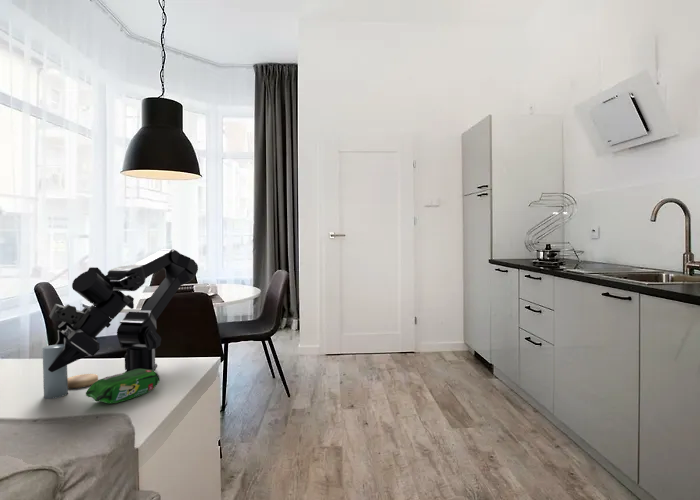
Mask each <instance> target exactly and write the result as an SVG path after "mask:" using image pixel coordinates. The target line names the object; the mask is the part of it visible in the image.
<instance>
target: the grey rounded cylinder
mask: <svg viewBox="0 0 700 500" xmlns="http://www.w3.org/2000/svg"><path fill="white" fill-rule="evenodd" d="M63 348H64V344H57V345H55V344H52V345H51V344H50V345H46V346H43V347H42V348H41V349H42V350H41V351H42V374H43V375H42V377H43V398H44V399H46V400H50V399H57V398H58V399H59V398H61V397H64V396H67V395H68V394H69V388H68V378H69V377H68V365H66V366H64V367H62V368H60V369H58V370H56V371H54V372H50V371H49V370H48V368H49V367H50V365H51V364H52V362H53V361H54V360H55V358H56V357H57V356H58V355H59V353H60V352H61V351H62V349H63Z"/></svg>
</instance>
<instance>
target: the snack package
mask: <svg viewBox="0 0 700 500" xmlns="http://www.w3.org/2000/svg"><path fill="white" fill-rule="evenodd" d="M160 379H161V377H160V376H159V373H158V372H156V371H155V370H148V369H134V370H131V371H128V372H121V373H117V374H114V375H109V376H105V377H103V378H100V379H98V381H96V382H95V383H94V384H92V385H91V386H88V387H89V388H88V389H87V390H86V392H85V396H86V397H87V398H92V399H93V400H94V401H95V402H101V403H105V404H109V405H110V404H112V405H113V404H118V403H121V402H124V401H128V400H131V399H134V398H137V397H140V396H143V395H146V394H148V393H149V392H152V391H153V390H154V389H155V388H156V387H157V385H158V384H159V383H160V381H161V380H160Z"/></svg>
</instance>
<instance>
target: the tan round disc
mask: <svg viewBox="0 0 700 500" xmlns="http://www.w3.org/2000/svg"><path fill="white" fill-rule="evenodd" d="M98 380H99V376H98V374H97V373H84V374H83V373H82V374H77V375H73V376H70V377H68V389H72V390H73V388H75V389H81V387H83V388H87V387H90V385H92V384H94V383H95V382H96V381H98Z"/></svg>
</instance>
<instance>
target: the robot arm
mask: <svg viewBox="0 0 700 500" xmlns="http://www.w3.org/2000/svg"><path fill="white" fill-rule="evenodd" d="M198 266H199V265H198V263H197V262H196V261H195V260H194V259H192V258H191V257H189V256H187V255H185V254H181V253H180V252H179V251H177V250H176V249H173V248H172V249H171V248H167V249H165V248H164V249H160V250H158V251H157V252H156V253H154V254H151V255H149V256H148V257H146V258H144V259H142V260H139V261H137V262H135V263H133V264H130V265H120V266H117V267H113V268H111V269H109V270H108V271H107V274H104V273H103V272H102V270H101V269H100V268H99V267H93V266H92V267H91V266H90V267H89V268H88V270H87V271H84V272H82V273H80V274H79V275H77V277H75V278H74V279H73V281H72V284H71V288H72V289H73V291H75V292H76V293H78V295H80V296H81V297H82V298H84V300H86V301H88V302H89V303H90V304H92V305H90V307H88V306H87V307H85V306H84V307H83V309H82V310H79V309H77V307H76V306H74V305H70V304H66V305H62V304H58V303H54V306H53V307H52V309H51V311H50V313H49V315H48V317H49V318H50V320H53V321H55V322H61V323H60V324H58V326H57V327H58V328H59V329H60V330H59V329H57V341H56V343H55V344H54V345H57V344H64V348H63V349H62V351H61V352H60V353H59V355H58V356H57V357H56V358H55V360H54V361H53V362H52V364H51V365H50V367H49V368H48V370H49V371H50V372H54V371H56V370H58V369H60V368H62V367H64V366H66V365H67V366H68V365H70V364H72V363H74V362H77V361H79V360H81V359H83V358H85V357H89V356H92V357H94V356H95V355H96V353H98V352H99V351H100V342H99V341H98V337H97V336H98V335H99V334H100V333H101V332H102V331H103V330H105V328H110V326H111V325H112V324H111V322H112V321H113V320H114V319H115V318H116V317H117V315H119V314H120V313H121V312H122V310H124V309H125V308H126V307H128V308H129V309H131V310H134V308H135V307H134V306H135V304H134V301H135V298H134V297H133V296H131V295H130V294H127V295H125V294H124V293H123V292H136V291H137V290H138V289H140V288H141V287H142V286H143V285H144V284H145V283H146V279H147V278H149V277H150V276H151V275H153V274H155V273H157V272H159V271H160V270H162V269H163V270H164V272H165V273H164V274H165V278H163V280H162V281H161V283H160V284H159V285H158V286H157V288H156V289H155V290H154V292H153V293H152V294H151V295H150V297H149V298H148V300H147V301H146V302H145V304H144V305H143V306H142V307H141V308H140V310H139V311H128V312H127V313H126V315H125V316H124V318H123V319H122V320H120V321H119V326H118V328H117V330H116V335H117V336H116V337H117V341H118V342H119V345H120V348H121V349H122V350H123V349H126V353H125V354H124V370H125V372H128V371H131V370H134V369H148V370H153V371H155V369H156V368H157V366H158V364H157V363H156V349H158V347H160V346H161V342H162V337H161V336H160V335H159V333H158V332H157V329H158V328H157V320H158V318H159V317H160V315H162V313H163V311H164V310H165V308H166V307H167V306H168V305H169V302H171V300H172V299H173V297H174V296H175V294H176V293H177V291H178V290H179V289H180V287H181V286H184V285H185V284H187V283H189V282H191V281H192V280H193V279H194V278H195V277H196V275H197V274H198V271H199V267H198Z"/></svg>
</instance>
